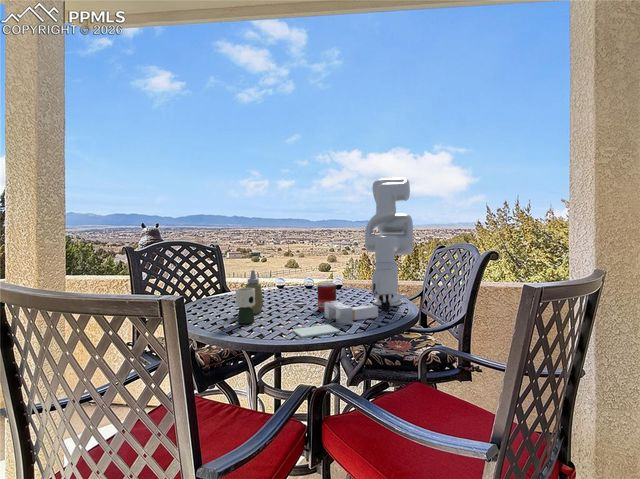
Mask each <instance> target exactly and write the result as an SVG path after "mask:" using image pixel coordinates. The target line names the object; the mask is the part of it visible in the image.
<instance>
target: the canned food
mask: <svg viewBox="0 0 640 479" xmlns="http://www.w3.org/2000/svg"><path fill="white" fill-rule="evenodd" d="M330 301H337V283H334V282H320V283H317V309H318V310H319V311H321V310H322V311H321V312H325V305H324V302H330Z"/></svg>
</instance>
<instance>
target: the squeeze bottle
mask: <svg viewBox="0 0 640 479" xmlns="http://www.w3.org/2000/svg"><path fill="white" fill-rule="evenodd" d="M249 277H250V278H248V279H247V284H246V285H245V287H244V288H254V289H255V305H254V306H252V309H253V314H254V315H256V314H259V313H262V310H263V307H264V298H263V291H262V290H263V289H262V285H261V283H260V281H259V280H260V279H259V278H257V275H256V273H255V270H253V269H252V270H251V272H250V276H249Z"/></svg>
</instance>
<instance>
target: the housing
mask: <svg viewBox="0 0 640 479" xmlns="http://www.w3.org/2000/svg"><path fill="white" fill-rule="evenodd" d="M324 305H325V311H324V318H325V319H327V320H335V324H337V325H338V326H347V325H353V324H354V320H353V308H352V307H353V306H350V305H347V304H345V303H342V302H340V301H337V300H336V301H330V302H324ZM335 318H336V319H335Z"/></svg>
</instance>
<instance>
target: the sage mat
mask: <svg viewBox="0 0 640 479" xmlns="http://www.w3.org/2000/svg"><path fill="white" fill-rule="evenodd" d="M291 330H292V332H293V333H294V334H296V335H297V336H298V337H299V338H301V339H305V338H311V337H316V336H317V335H318V336H324V334H325V335H331V333H332V334H337V333H341V330H340V329H338V328H336V327H334V326H332V325H331V324H321V325H315V326H307V327H301V328H294V329H291ZM310 336H311V337H310ZM318 336H317V337H318Z"/></svg>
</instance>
